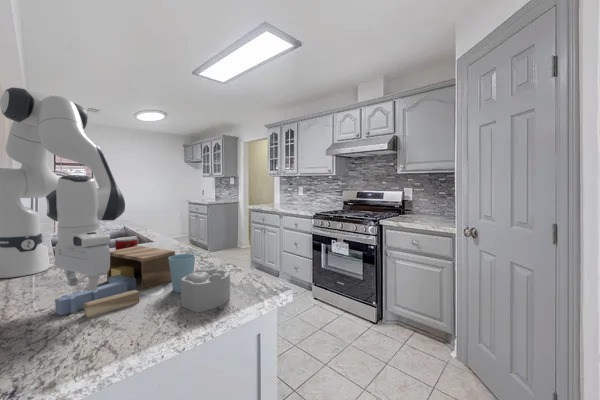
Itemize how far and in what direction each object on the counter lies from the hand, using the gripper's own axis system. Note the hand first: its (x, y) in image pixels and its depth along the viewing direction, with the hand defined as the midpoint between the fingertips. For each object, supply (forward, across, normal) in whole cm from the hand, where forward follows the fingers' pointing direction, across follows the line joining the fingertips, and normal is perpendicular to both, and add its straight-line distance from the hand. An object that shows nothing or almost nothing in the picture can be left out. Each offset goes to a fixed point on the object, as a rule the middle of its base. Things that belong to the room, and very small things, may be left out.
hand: (82, 287), depth 76 cm
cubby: (+5, -7, +20) cm, 22 cm away
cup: (+6, +13, +21) cm, 26 cm away
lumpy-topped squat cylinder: (+6, +27, +18) cm, 33 cm away
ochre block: (+5, -12, +18) cm, 23 cm away
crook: (+5, -3, +5) cm, 8 cm away
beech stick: (+6, +8, +3) cm, 10 cm away
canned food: (+5, -32, +31) cm, 45 cm away
